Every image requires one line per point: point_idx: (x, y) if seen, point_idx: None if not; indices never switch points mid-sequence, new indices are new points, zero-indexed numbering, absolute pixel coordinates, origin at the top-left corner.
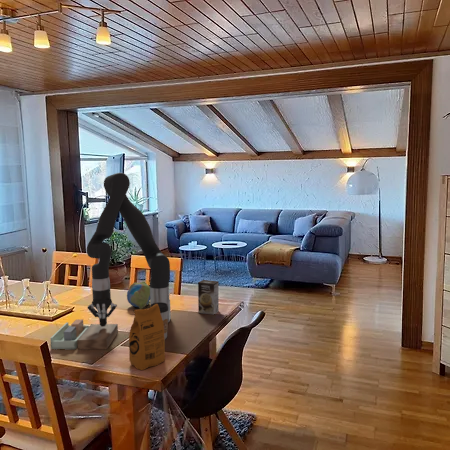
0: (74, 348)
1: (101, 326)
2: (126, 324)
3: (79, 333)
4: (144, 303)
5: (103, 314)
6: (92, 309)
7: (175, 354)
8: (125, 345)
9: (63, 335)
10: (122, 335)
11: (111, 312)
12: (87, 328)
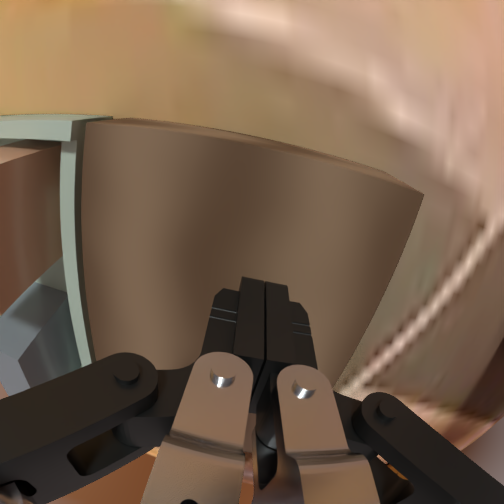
0: None
1: (227, 226)
2: (444, 5)
3: (51, 250)
4: None
5: (268, 478)
6: (43, 501)
7: (479, 427)
8: (382, 387)
9: None
10: (408, 247)
11: (398, 497)
12: (83, 255)
